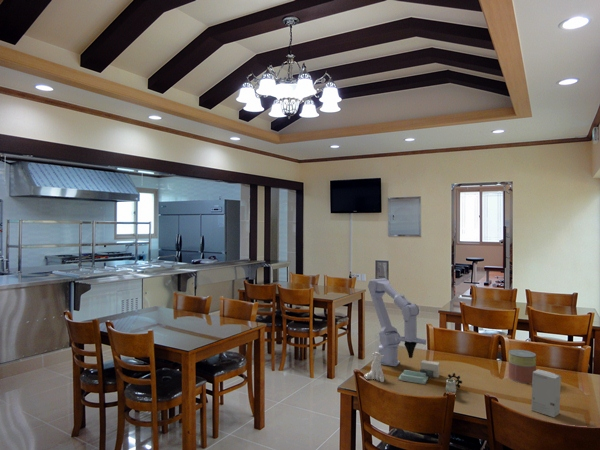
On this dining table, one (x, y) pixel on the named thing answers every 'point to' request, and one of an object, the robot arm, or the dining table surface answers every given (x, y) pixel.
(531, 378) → the canned food
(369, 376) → the sitting furry creature
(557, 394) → the skincare box
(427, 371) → the channel
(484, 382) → the dining table surface
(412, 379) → the cradle
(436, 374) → the white block
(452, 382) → the valve
